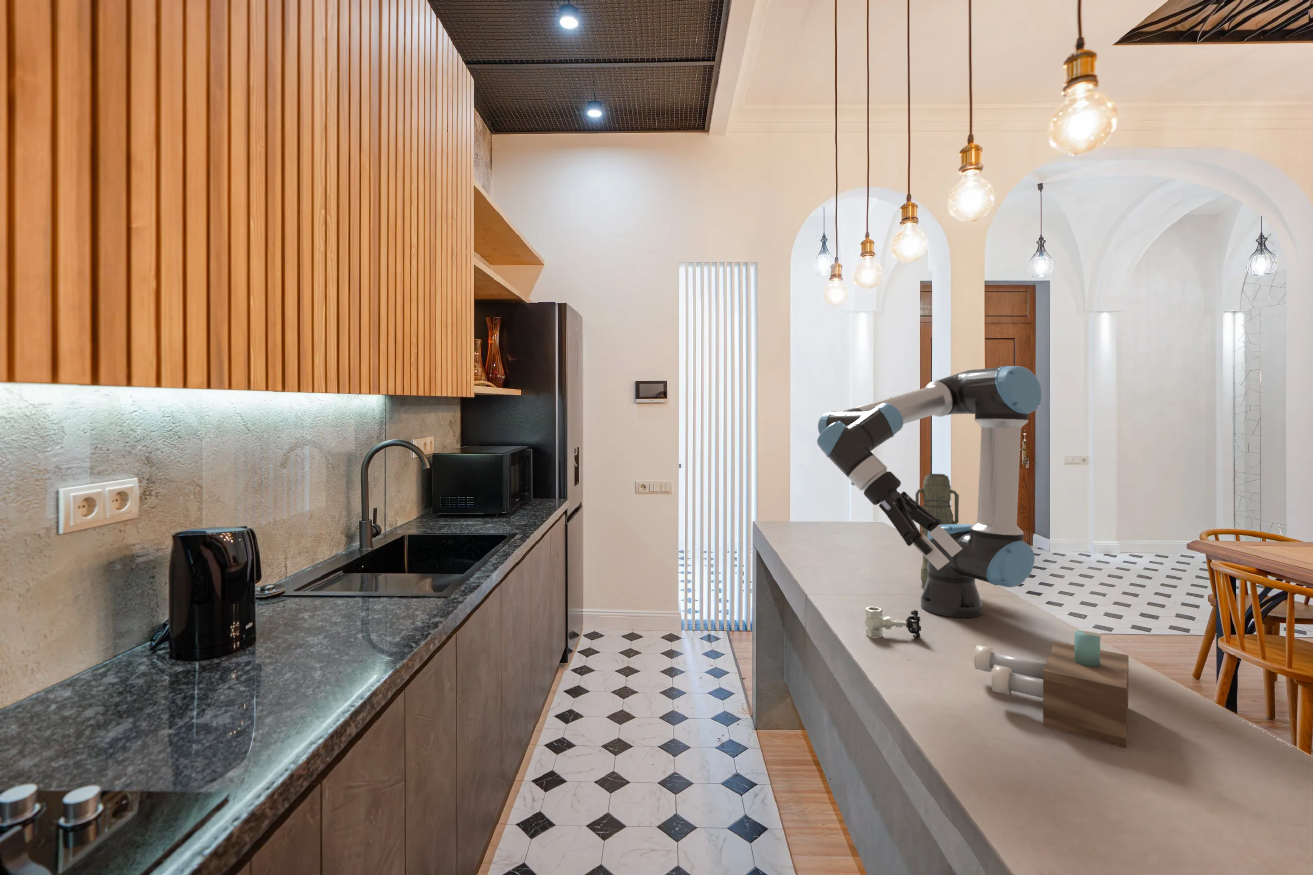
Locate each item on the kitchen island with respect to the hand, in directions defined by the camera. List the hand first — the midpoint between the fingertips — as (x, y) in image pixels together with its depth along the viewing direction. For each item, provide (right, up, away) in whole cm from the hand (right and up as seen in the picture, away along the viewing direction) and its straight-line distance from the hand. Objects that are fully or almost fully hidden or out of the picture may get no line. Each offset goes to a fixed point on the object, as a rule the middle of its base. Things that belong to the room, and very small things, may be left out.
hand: (951, 559), depth 120 cm
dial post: (+15, -14, -17) cm, 27 cm away
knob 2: (+7, -22, -16) cm, 28 cm away
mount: (+15, -24, -17) cm, 33 cm away
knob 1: (+9, -21, -7) cm, 24 cm away
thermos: (+26, -22, +60) cm, 69 cm away
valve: (-3, -23, +22) cm, 32 cm away
